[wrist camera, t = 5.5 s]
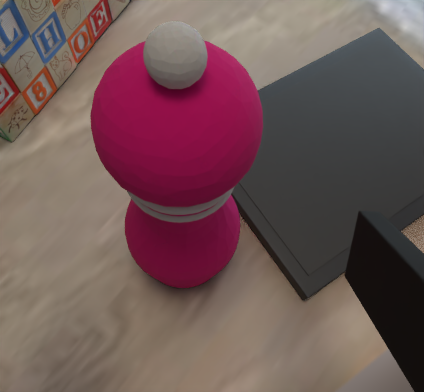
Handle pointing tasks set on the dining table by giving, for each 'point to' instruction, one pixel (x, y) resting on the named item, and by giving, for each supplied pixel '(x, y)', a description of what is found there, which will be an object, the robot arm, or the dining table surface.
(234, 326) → the dining table surface
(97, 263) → the dining table surface
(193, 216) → the pepper mill
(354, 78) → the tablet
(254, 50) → the dining table surface
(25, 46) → the stack of blocks
